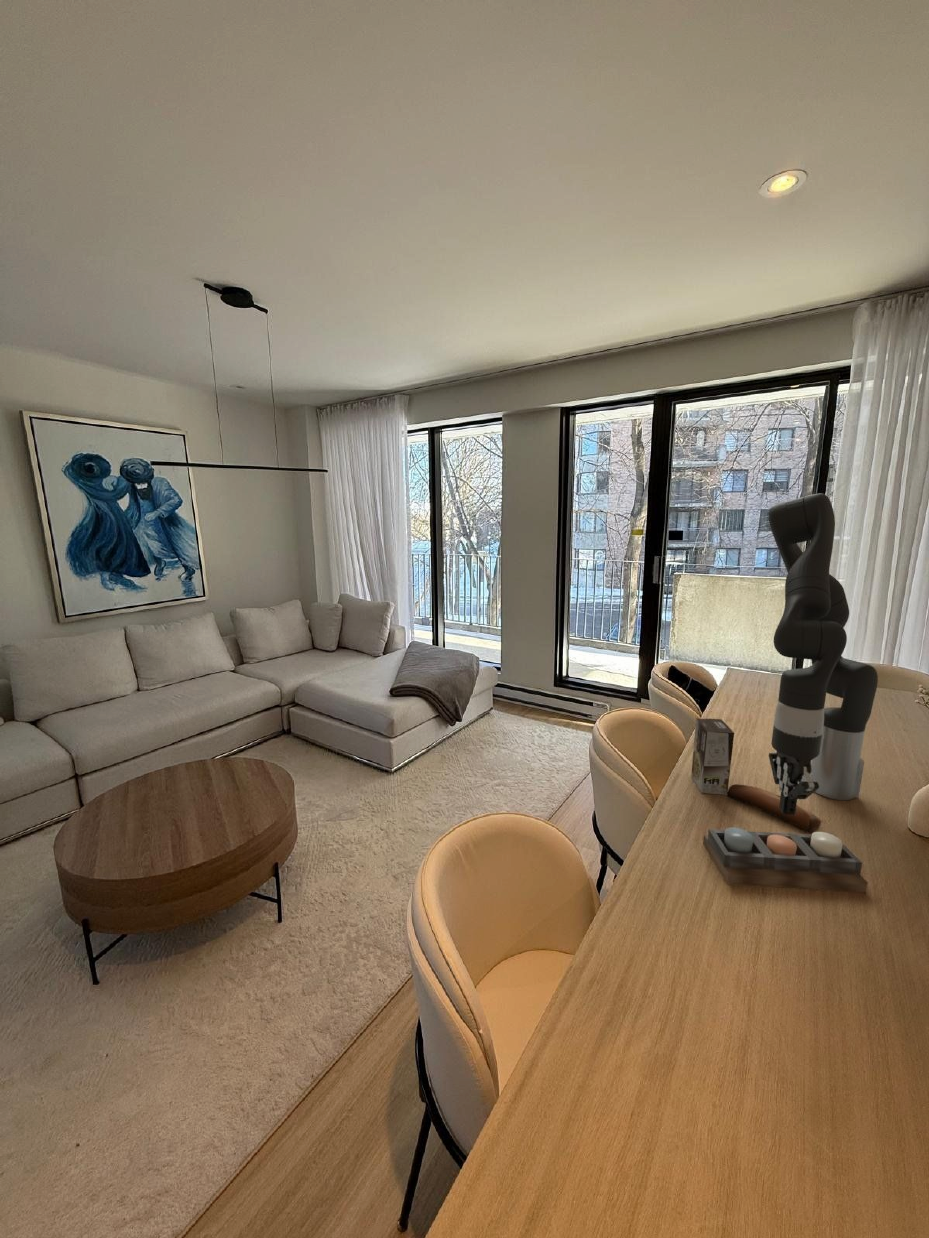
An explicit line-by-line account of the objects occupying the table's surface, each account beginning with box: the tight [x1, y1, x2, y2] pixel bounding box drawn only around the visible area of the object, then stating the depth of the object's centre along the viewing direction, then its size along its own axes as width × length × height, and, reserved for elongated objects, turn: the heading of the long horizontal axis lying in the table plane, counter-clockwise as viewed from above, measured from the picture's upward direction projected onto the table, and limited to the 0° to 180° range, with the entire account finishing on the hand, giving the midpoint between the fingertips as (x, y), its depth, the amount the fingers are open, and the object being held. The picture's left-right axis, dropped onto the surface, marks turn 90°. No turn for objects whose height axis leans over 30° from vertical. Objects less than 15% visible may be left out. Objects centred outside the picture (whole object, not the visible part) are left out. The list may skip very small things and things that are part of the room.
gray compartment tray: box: [702, 829, 869, 893], centre depth 98 cm, size 24×12×4 cm, turn 85°
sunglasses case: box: [726, 784, 823, 834], centre depth 117 cm, size 18×7×7 cm
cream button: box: [810, 831, 844, 858], centre depth 97 cm, size 5×5×3 cm
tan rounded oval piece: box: [767, 835, 797, 856], centre depth 98 cm, size 5×5×3 cm
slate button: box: [724, 827, 753, 853], centre depth 98 cm, size 5×5×3 cm
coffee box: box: [690, 717, 736, 796], centre depth 127 cm, size 9×6×16 cm
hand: (786, 812), depth 97 cm, fingers closed
